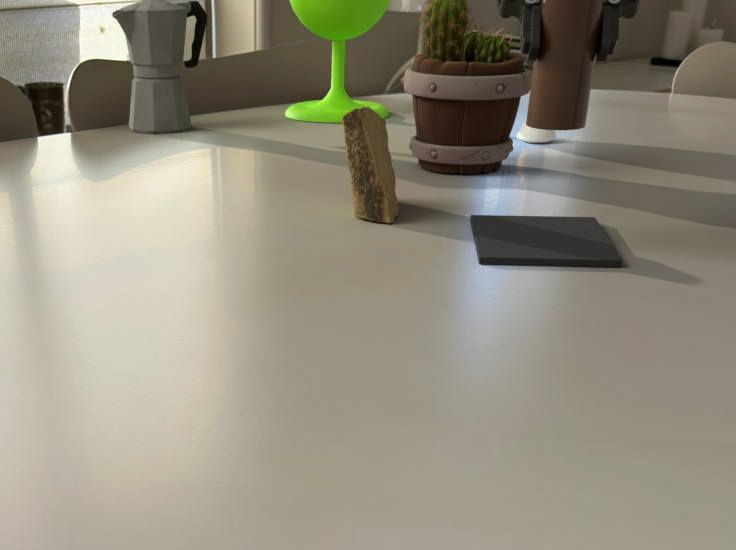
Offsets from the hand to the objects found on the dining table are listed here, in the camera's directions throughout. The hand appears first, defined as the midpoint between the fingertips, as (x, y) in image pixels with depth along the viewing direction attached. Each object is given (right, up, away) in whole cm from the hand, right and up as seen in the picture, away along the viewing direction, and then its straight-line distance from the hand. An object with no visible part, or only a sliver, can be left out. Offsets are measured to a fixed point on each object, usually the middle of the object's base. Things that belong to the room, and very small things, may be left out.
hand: (568, 53), depth 87 cm
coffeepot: (-39, +26, +67) cm, 82 cm away
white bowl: (+12, +19, +55) cm, 59 cm away
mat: (0, -12, +10) cm, 16 cm away
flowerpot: (-1, +9, +41) cm, 42 cm away
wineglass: (-13, +33, +76) cm, 84 cm away
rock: (-13, -4, +22) cm, 26 cm away
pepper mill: (0, -4, +5) cm, 6 cm away
